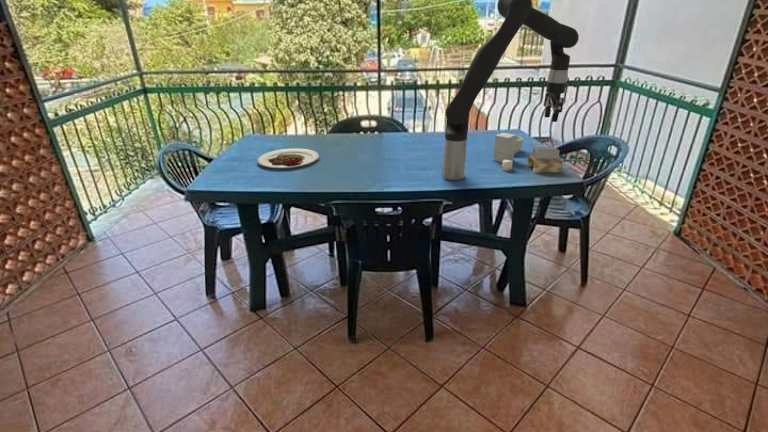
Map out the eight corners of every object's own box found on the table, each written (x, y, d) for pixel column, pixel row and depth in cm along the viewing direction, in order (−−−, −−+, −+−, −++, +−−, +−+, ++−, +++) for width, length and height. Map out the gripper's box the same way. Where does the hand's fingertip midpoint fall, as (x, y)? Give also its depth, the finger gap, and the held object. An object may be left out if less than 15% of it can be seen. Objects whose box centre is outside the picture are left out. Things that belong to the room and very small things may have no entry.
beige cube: (503, 171, 187) (504, 162, 185) (500, 168, 191) (501, 159, 189) (512, 171, 187) (514, 162, 185) (510, 167, 191) (511, 159, 189)
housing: (553, 156, 189) (555, 146, 187) (557, 159, 184) (559, 150, 182) (532, 156, 189) (533, 147, 187) (535, 160, 184) (537, 150, 182)
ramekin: (518, 147, 219) (520, 134, 216) (524, 155, 207) (525, 141, 204) (493, 147, 220) (494, 134, 217) (497, 154, 209) (498, 141, 206)
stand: (534, 172, 184) (535, 161, 182) (526, 165, 193) (528, 155, 191) (560, 172, 184) (562, 161, 182) (552, 164, 193) (553, 154, 191)
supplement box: (513, 160, 200) (517, 134, 195) (505, 163, 196) (509, 137, 190) (500, 156, 205) (503, 132, 199) (492, 160, 200) (495, 135, 195)
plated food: (287, 148, 224) (286, 142, 222) (331, 157, 210) (330, 150, 209) (244, 164, 201) (243, 158, 200) (290, 175, 187) (289, 168, 186)
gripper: (573, 83, 166) (565, 123, 173) (559, 78, 178) (552, 115, 186) (554, 83, 166) (548, 123, 173) (542, 78, 178) (536, 115, 186)
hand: (550, 119), depth 179 cm, fingers open, 8 cm apart
